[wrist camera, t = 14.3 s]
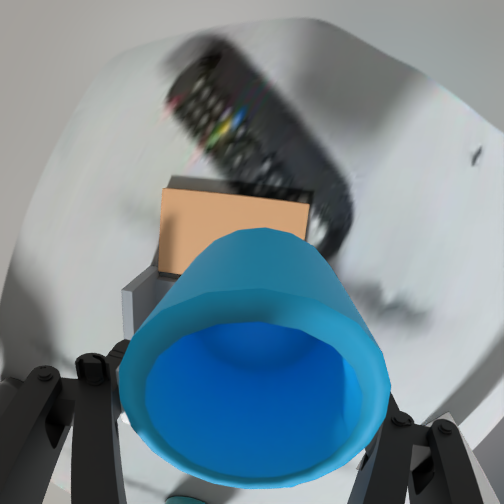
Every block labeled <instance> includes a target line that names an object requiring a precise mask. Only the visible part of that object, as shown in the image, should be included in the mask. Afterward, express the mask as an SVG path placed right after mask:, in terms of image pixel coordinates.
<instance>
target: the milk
mask: <svg viewBox="0 0 504 504" xmlns="http://www.w3.org/2000/svg"><path fill="white" fill-rule="evenodd" d="M437 419H447V420H449V421H451V422H453V423H454V424H455V425H456V426H457V424H456V423H455V421H454V419H453V418H452V416H451V415H450V413H449V412H447V413H445V414H443V415H442V416H440V417H439V418H437ZM437 419H435V420H437ZM435 420H434V421H435ZM434 421H432V422H430V423H428V424H427V425H425V426H428V427H431V425H432V423H433V422H434ZM457 428H458V426H457ZM458 429H459V428H458ZM459 432H460V435H461V437H462V440H463V442H464V445H465V448H466V451H467V453H468V456H469V459H470V462H471V465H472V468H473V471H474V474H475V477H476V480H477V483H478V486H479V489H480V493H481V496H482V499H483V503H484V504H500V502H499V500H498V498H497V497H496V495H495V493H494V491H493V489H492V487H491V485H490V483H489V481H488V479H487V477H486V476H485V474H484V472H483V470H482V468H481V466H480V465H479V463H478V461H477V459H476V457H475V455H474V454H473V452H472V450H471V448H470V447H469V445H468V443H467V441H466V440H465V438H464V436H463V435H462V433H461V431H460V429H459Z"/></svg>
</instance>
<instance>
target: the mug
mask: <svg viewBox="0 0 504 504" xmlns="http://www.w3.org/2000/svg"><path fill="white" fill-rule="evenodd" d="M390 390H391V383H390V379H389V375H388V371H387V368H386V364H385V360H384V357H383V353H382V351H381V350H380V348H379V346H378V344H377V343H376V341H375V339H374V337H373V336H372V334H371V332H370V331H369V329H368V327H367V325H366V324H365V322H364V320H363V319H362V317H361V315H360V314H359V312H358V310H357V309H356V307H355V305H354V304H353V302H352V300H351V299H350V297H349V295H348V294H347V292H346V290H345V289H344V287H343V286H342V284H341V282H340V281H339V279H338V278H337V276H336V274H335V273H334V271H333V270H332V268H331V266H330V265H329V264H328V263H327V261H326V260H325V259H324V258H323V257H322V255H321V254H320V253H319V252H318V251H317V250H316V248H315V247H314V246H312V245H311V244H309V243H307V242H306V241H304V240H302V239H301V238H299V237H297V236H296V235H294V234H292V233H289V232H284V231H280V230H275V229H271V228H266V227H263V228H252V229H242V230H237V231H235V232H232V233H230V234H228V235H226V236H223V237H221V238H219V239H216V240H214V241H213V242H212V243H211V244H210V245H209V246H208V247H207V248H206V249H205V250H203V251H202V252H201V253H200V254H199V255H198V256H197V257H196V258H195V259H194V260H193V262H192V263H191V264H190V265H189V267H188V268H187V269H186V270H185V271H184V273H183V274H182V275H181V276H180V277H179V279H178V280H177V281H176V282H175V284H174V285H173V286H172V287H171V289H170V290H169V291H168V292H167V294H166V295H165V296H164V297H163V299H162V300H161V301H160V302H159V303H158V305H157V306H156V307H155V309H154V310H153V311H152V312H151V314H150V315H149V316H148V317H147V319H146V320H145V321H144V322H143V324H142V325H141V326H140V327H139V329H138V330H137V331H136V333H135V334H134V335H133V336H132V338H131V341H130V343H129V345H128V348H127V350H126V352H125V354H124V357H123V359H122V361H121V364H120V366H119V394H120V401H121V403H122V406H123V408H124V411H125V413H126V415H127V417H128V420H129V422H130V424H131V427H132V428H133V429H134V431H135V432H136V433H137V434H138V435H139V436H140V438H141V439H142V440H143V441H144V442H145V443H146V445H147V446H148V447H149V448H150V449H151V450H152V451H153V452H154V453H155V454H157V455H158V456H160V457H161V458H162V459H164V460H165V461H167V462H168V463H170V464H171V465H173V466H174V467H176V468H177V469H179V470H180V471H183V472H185V473H187V474H190V475H192V476H195V477H197V478H200V479H202V480H205V481H208V482H210V483H214V484H219V485H224V486H230V487H236V488H242V489H272V488H284V487H285V488H288V487H294V486H296V485H298V484H301V483H305V482H309V481H312V480H315V479H318V478H320V477H322V476H324V475H326V474H328V473H330V472H332V471H334V470H336V469H338V468H340V467H342V466H344V465H345V464H346V463H348V462H349V461H350V460H351V459H352V458H354V457H355V456H356V455H357V454H358V453H359V452H360V451H362V450H363V449H364V448H365V447H366V446H367V445H368V444H369V443H370V442H371V440H372V439H373V437H374V435H375V434H376V432H377V430H378V429H379V427H380V426H381V424H382V422H383V421H384V419H385V417H386V413H387V407H388V402H389V396H390Z"/></svg>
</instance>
